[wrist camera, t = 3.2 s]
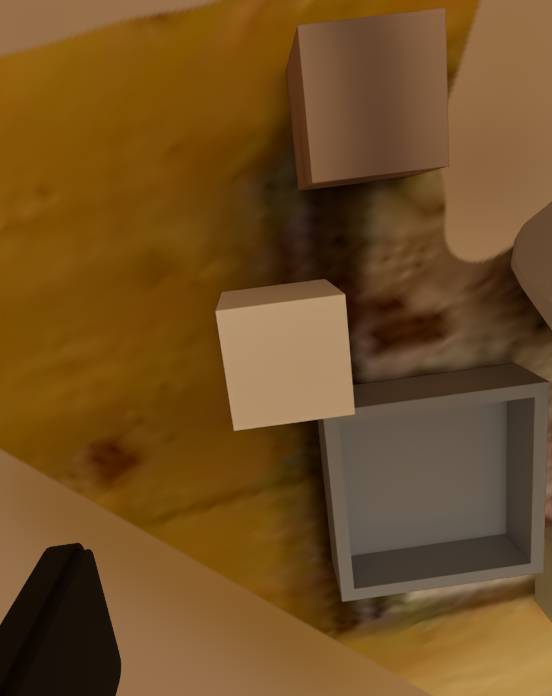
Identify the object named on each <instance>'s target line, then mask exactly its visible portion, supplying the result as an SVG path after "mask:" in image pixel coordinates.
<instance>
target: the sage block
mask: <svg viewBox="0 0 552 696" xmlns="http://www.w3.org/2000/svg"><path fill="white" fill-rule="evenodd" d="M535 601H536V602H537V604H538V605H539V606H540V608H541V609H542V610H543V612H544V613H545V614H546V616H547V617H548V618H549V620H550V621H551V622H552V527H545V530H544V561H543V573H536V574H535Z"/></svg>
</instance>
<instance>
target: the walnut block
mask: <svg viewBox="0 0 552 696" xmlns="http://www.w3.org/2000/svg"><path fill="white" fill-rule="evenodd" d="M286 75H287V85H288V94H289V104H290V113H291V123H292V133H293V142H294V152H295V162H296V171H297V181H298V191H302V190H310V189H318V188H326V187H334V186H342V185H350V184H358V183H366V182H374V181H382V180H390V179H398V178H406V177H410V176H413V175H417V174H421V173H425V172H429V171H432V170H436V169H440V168H444V167H447V166H449V138H448V137H449V136H448V94H447V52H446V9H445V8H440V9H432V10H423V11H415V12H406V13H398V14H389V15H381V16H372V17H364V18H355V19H346V20H338V21H329V22H321V23H312V24H304V25H297V29H296V33H295V37H294V41H293V45H292V49H291V52H290V56H289V60H288V64H287V68H286Z"/></svg>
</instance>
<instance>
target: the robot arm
mask: <svg viewBox="0 0 552 696" xmlns="http://www.w3.org/2000/svg"><path fill="white" fill-rule="evenodd" d="M120 675H121V659H120V655H119V650H118V646H117V643H116V639H115V635H114V631H113V627H112V623H111V620H110V616H109V612H108V608H107V604H106V601H105V597H104V593H103V589H102V585H101V581H100V578H99V574H98V570H97V566H96V562H95V559H94V555H93V552H92V551H91V550H90V549H87V550H84V548H83V546H82V545H81V544H80V543H74V544H67V545H60V546H53V547H49V548H47V549H46V551H45V552H44V553H43V555H42V556H41V558H40V560H39V561H38V563H37V565H36V566H35V568H34V570H33V571H32V573H31V575H30V576H29V578H28V580H27V581H26V583H25V585H24V586H23V588H22V590H21V591H20V593H19V595H18V597H17V598H16V600H15V601H14V603H13V605H12V606H11V608H10V610H9V611H8V613H7V615H6V616H5V618H4V620H3V621H2V623H1V625H0V696H116V692H117V688H118V684H119V680H120Z"/></svg>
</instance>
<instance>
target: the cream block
mask: <svg viewBox="0 0 552 696" xmlns="http://www.w3.org/2000/svg"><path fill="white" fill-rule="evenodd" d="M215 312H216V318H217V325H218V331H219V338H220V344H221V350H222V357H223V363H224V370H225V376H226V382H227V389H228V395H229V402H230V408H231V414H232V421H233V427H234V431H236V430H244V429H251V428H258V427H266V426H273V425H281V424H288V423H295V422H303V421H310V420H317V419H325V418H332V417H340V416H347V415H354V414H355V408H354V396H353V384H352V372H351V359H350V347H349V335H348V323H347V311H346V299H345V294H344V293H343V292H342V291H340V290H339V289H338V288H336V287H335V286H334V285H332V284H331V283H330V282H328V281H327V280H326V279H321V280H313V281H305V282H297V283H289V284H282V285H274V286H266V287H258V288H250V289H243V290H235V291H227V292H222V293H221V296H220V299H219V302H218V305H217V308H216V311H215Z"/></svg>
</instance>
